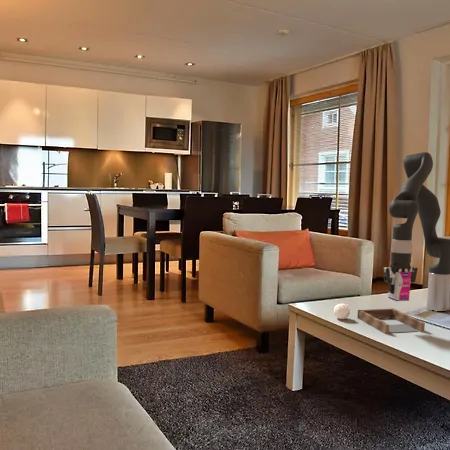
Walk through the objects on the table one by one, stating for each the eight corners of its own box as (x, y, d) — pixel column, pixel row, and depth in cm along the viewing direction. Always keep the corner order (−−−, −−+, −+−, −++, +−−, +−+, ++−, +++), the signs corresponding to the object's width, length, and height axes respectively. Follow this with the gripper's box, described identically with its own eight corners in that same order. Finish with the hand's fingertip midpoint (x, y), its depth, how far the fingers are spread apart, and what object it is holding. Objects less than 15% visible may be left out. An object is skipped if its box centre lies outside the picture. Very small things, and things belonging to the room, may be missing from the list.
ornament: (337, 315, 204) (348, 302, 203) (345, 325, 199) (356, 312, 197) (327, 309, 201) (339, 296, 200) (335, 319, 195) (347, 306, 194)
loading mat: (377, 326, 190) (377, 325, 190) (404, 324, 193) (404, 324, 193) (389, 333, 181) (389, 332, 181) (418, 331, 184) (418, 330, 184)
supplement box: (397, 301, 183) (398, 272, 182) (387, 298, 188) (389, 269, 187) (409, 301, 184) (411, 272, 183) (400, 297, 190) (401, 269, 189)
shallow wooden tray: (357, 318, 201) (357, 310, 201) (392, 316, 205) (393, 308, 205) (385, 333, 180) (385, 325, 180) (424, 331, 184) (424, 323, 184)
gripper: (411, 249, 190) (409, 290, 191) (379, 249, 187) (377, 291, 188) (423, 252, 182) (421, 294, 184) (390, 252, 179) (387, 296, 181)
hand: (399, 292), depth 186 cm, fingers closed on supplement box, 6 cm apart
